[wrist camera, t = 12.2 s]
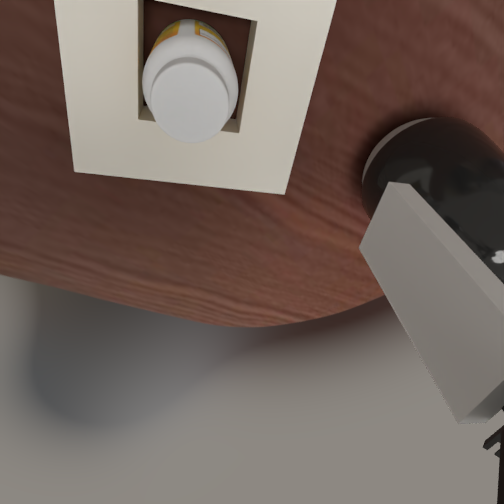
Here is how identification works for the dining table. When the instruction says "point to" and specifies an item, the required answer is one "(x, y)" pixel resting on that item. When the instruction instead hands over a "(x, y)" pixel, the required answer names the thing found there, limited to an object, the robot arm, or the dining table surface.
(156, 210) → the dining table surface
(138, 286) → the dining table surface
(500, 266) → the pump dispenser
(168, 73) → the supplement bottle
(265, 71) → the socket holder
